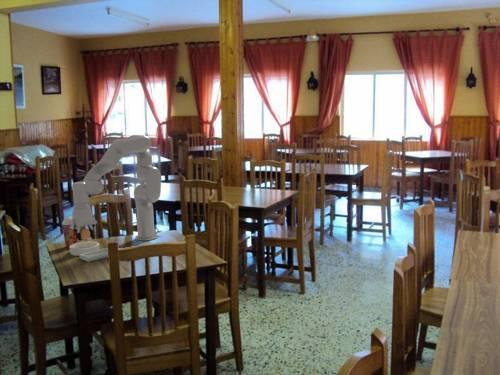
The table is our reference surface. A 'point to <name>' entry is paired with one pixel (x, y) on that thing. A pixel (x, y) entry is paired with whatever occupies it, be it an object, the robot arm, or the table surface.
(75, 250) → the bowl
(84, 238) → the ball
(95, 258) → the tray
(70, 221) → the smoothie
